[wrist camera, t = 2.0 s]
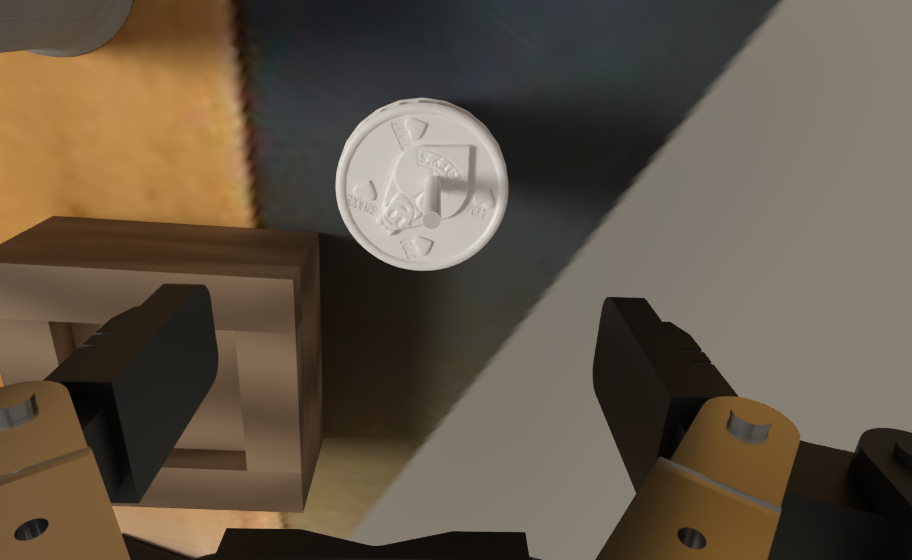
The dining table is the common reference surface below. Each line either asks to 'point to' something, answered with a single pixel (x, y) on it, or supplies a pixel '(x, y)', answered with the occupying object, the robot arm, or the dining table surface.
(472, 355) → the dining table surface
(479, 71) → the dining table surface
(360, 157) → the smoothie
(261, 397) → the walnut tray
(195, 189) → the dining table surface
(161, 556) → the phone stand
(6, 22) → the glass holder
